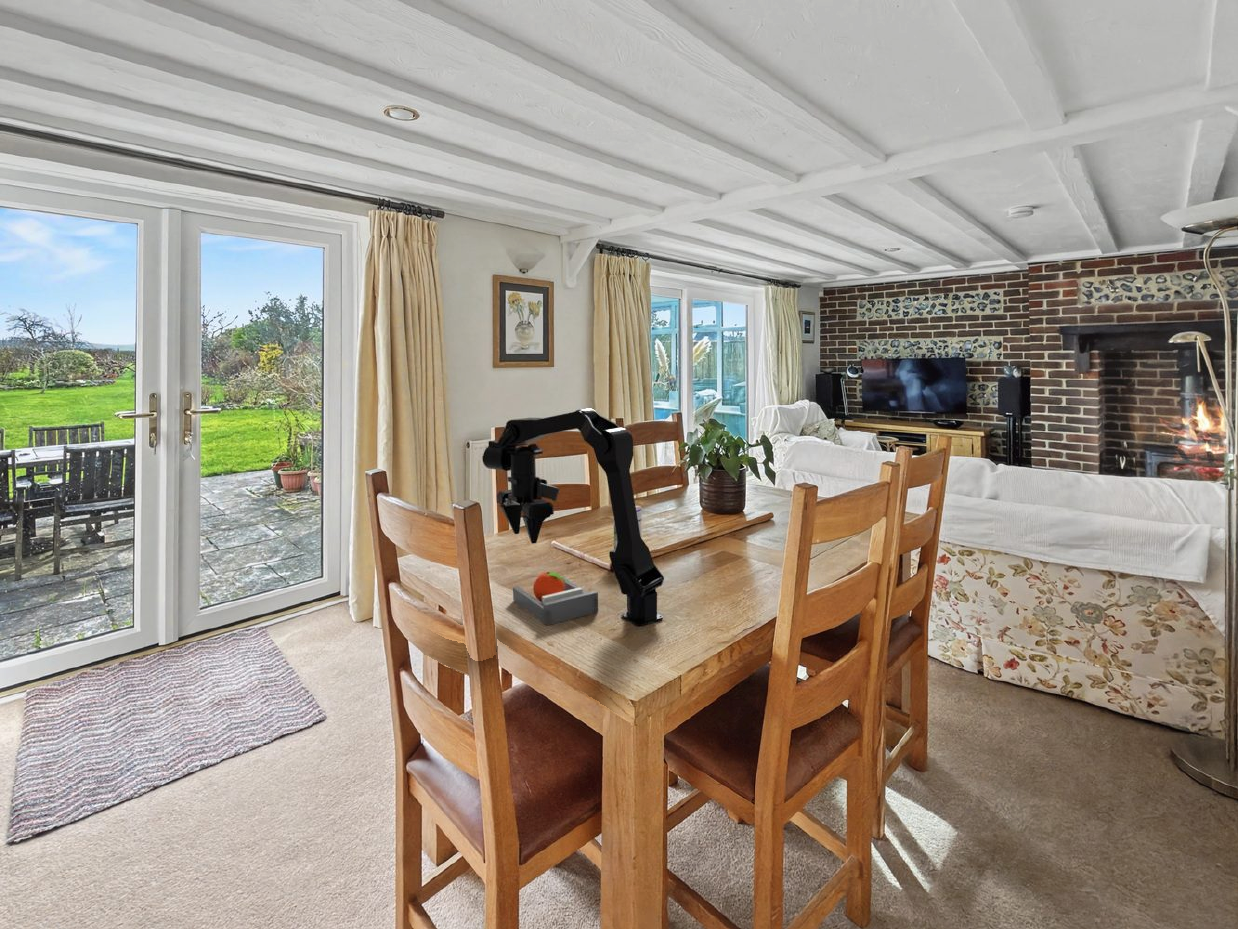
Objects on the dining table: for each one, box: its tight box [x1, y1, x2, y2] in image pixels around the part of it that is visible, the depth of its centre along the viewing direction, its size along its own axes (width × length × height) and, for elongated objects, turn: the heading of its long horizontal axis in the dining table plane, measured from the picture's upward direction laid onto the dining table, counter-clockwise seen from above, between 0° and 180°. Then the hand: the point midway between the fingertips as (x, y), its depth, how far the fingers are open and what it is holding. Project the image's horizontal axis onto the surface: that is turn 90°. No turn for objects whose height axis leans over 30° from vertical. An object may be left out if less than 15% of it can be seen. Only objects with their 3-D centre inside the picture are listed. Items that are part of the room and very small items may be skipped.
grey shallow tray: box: [512, 575, 599, 627], centre depth 137 cm, size 16×12×4 cm
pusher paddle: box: [541, 586, 583, 603], centre depth 134 cm, size 1×9×4 cm, turn 124°
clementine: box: [532, 571, 567, 603], centre depth 138 cm, size 8×7×7 cm
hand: (525, 538), depth 146 cm, fingers open, 9 cm apart
